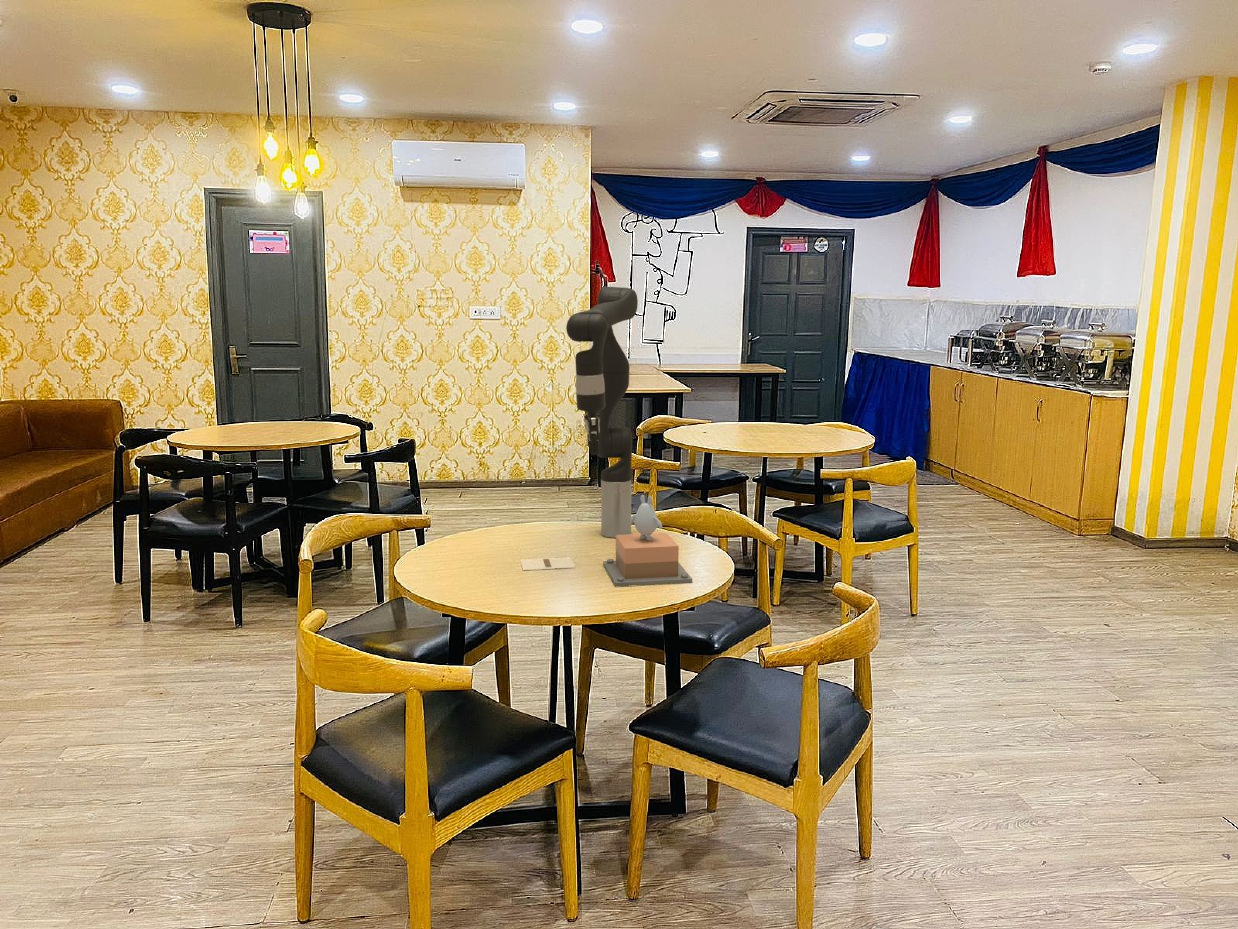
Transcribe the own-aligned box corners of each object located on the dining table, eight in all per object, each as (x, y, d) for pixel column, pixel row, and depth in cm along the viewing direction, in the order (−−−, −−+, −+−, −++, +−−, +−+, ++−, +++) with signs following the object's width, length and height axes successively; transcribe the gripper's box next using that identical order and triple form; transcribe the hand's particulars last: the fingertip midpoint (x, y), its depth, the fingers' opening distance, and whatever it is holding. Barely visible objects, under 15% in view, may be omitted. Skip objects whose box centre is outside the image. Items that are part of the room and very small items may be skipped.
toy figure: (669, 541, 241) (669, 496, 239) (654, 545, 236) (655, 500, 234) (637, 534, 248) (637, 490, 245) (623, 539, 243) (623, 494, 241)
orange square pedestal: (603, 564, 251) (603, 532, 250) (674, 561, 254) (674, 529, 253) (615, 586, 232) (615, 552, 230) (692, 582, 235) (692, 548, 233)
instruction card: (520, 560, 255) (520, 559, 255) (570, 558, 258) (570, 556, 258) (522, 570, 246) (522, 569, 246) (574, 568, 248) (574, 566, 248)
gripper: (607, 395, 234) (609, 456, 239) (602, 385, 248) (604, 443, 252) (577, 396, 234) (580, 458, 238) (574, 387, 247) (577, 445, 252)
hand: (593, 450), depth 245 cm, fingers open, 8 cm apart
